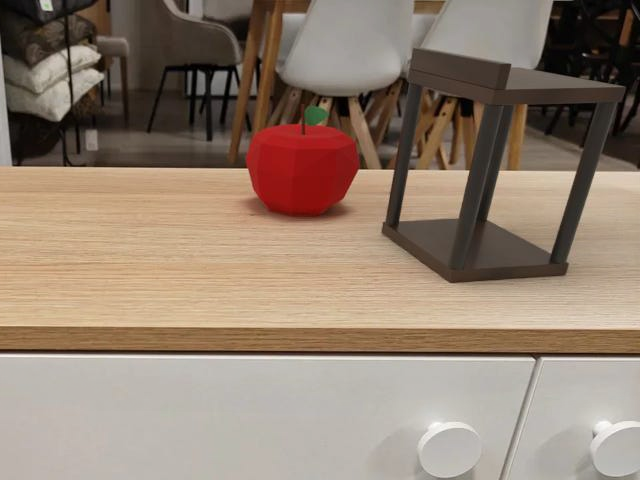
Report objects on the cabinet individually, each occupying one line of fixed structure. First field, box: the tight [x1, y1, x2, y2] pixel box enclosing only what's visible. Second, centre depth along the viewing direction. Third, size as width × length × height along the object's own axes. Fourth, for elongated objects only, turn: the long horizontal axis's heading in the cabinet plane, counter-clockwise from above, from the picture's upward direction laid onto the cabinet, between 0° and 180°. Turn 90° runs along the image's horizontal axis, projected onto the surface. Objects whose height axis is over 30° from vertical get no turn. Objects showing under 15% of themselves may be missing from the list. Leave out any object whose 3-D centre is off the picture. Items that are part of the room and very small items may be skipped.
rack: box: [380, 47, 627, 283], centre depth 54 cm, size 10×12×16 cm
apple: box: [245, 103, 360, 217], centre depth 67 cm, size 11×11×10 cm
